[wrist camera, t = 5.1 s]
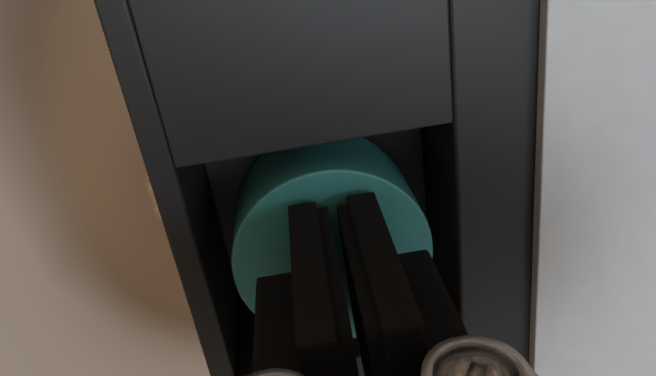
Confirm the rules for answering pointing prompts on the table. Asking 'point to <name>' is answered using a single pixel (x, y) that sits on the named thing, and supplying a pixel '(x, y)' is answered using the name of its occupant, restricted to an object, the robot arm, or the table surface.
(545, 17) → the scale
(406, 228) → the button
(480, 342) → the robot arm
